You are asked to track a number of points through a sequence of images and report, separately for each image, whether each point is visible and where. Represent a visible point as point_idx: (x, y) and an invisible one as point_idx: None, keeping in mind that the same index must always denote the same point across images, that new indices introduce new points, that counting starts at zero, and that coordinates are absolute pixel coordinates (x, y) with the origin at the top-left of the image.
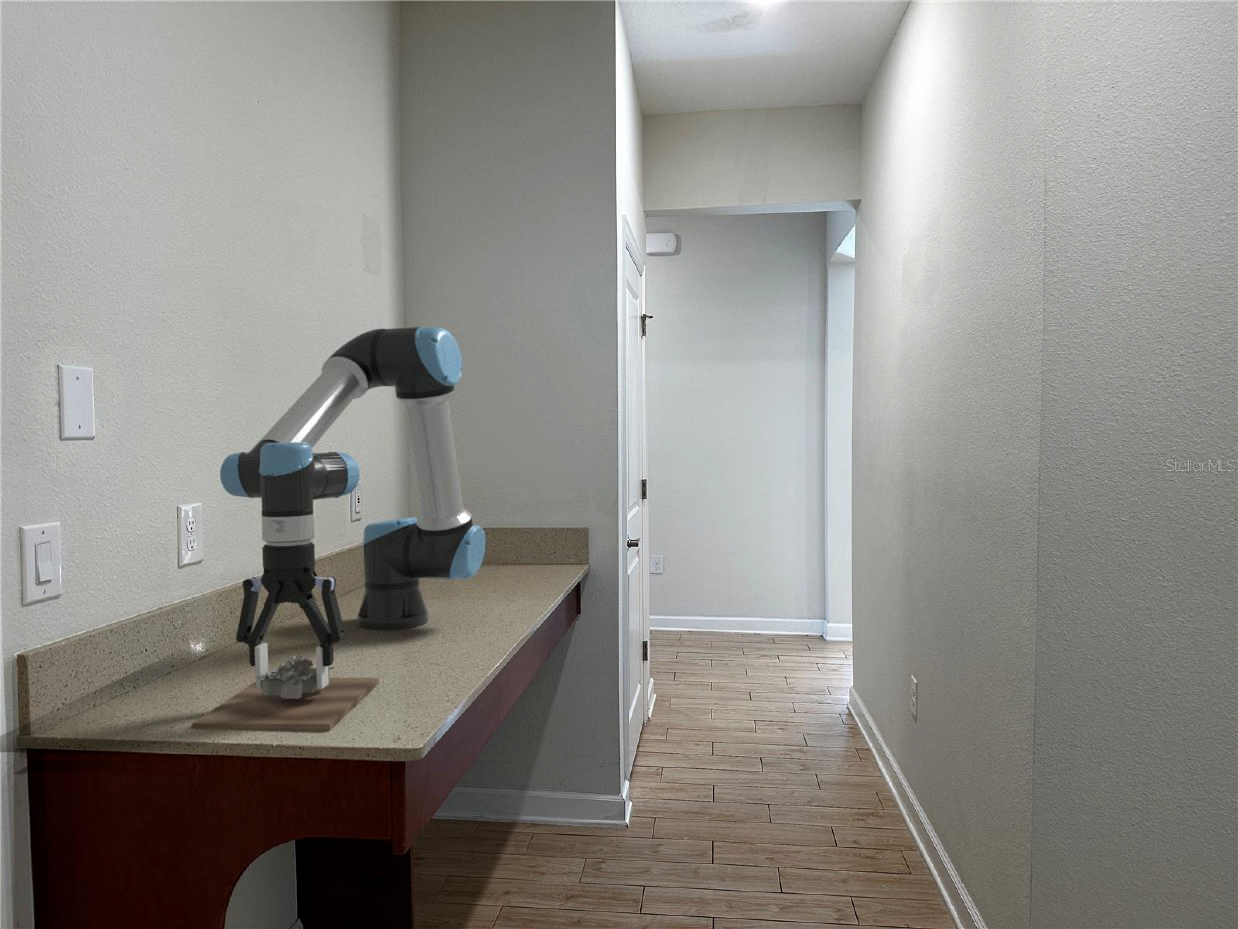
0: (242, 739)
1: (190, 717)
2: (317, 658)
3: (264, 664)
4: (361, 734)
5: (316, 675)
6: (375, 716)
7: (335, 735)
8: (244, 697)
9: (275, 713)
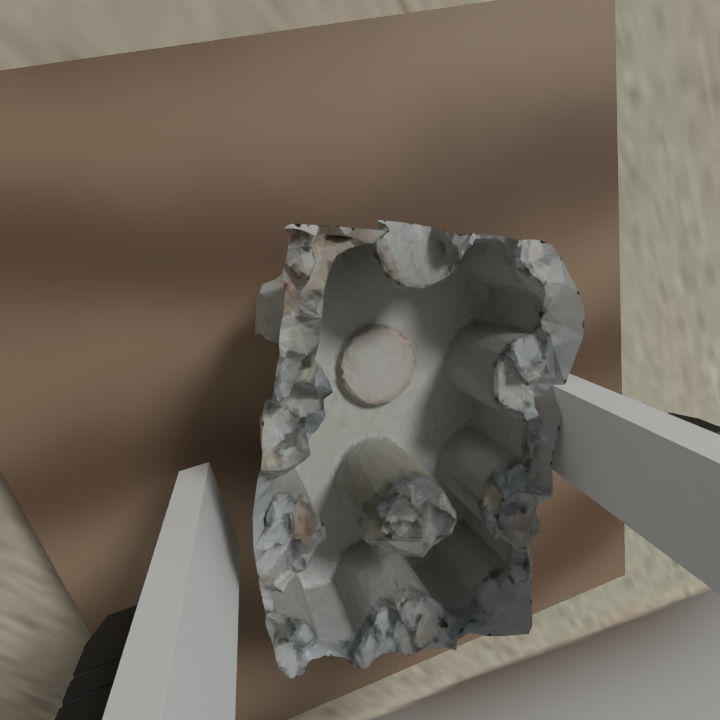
0: (392, 691)
1: (2, 661)
2: (670, 549)
3: (213, 603)
4: None
5: (531, 430)
6: (682, 402)
7: (625, 564)
8: (100, 490)
9: None
